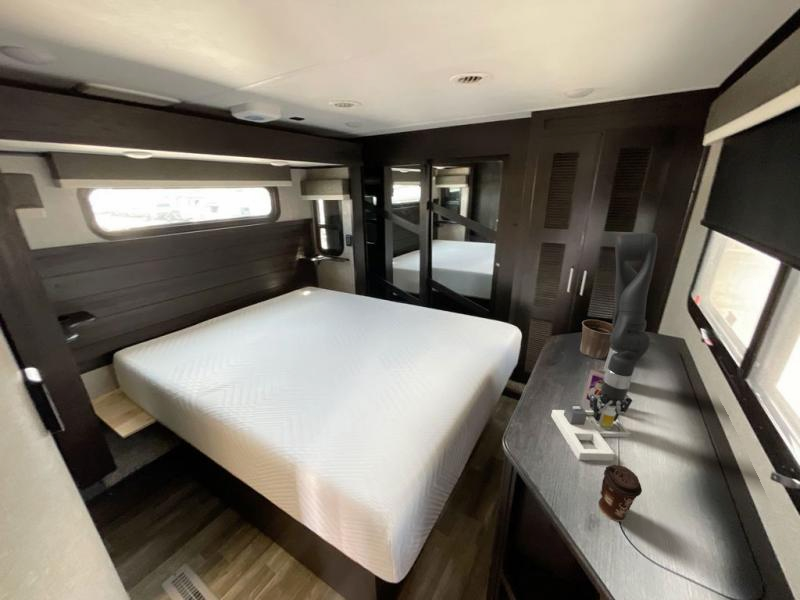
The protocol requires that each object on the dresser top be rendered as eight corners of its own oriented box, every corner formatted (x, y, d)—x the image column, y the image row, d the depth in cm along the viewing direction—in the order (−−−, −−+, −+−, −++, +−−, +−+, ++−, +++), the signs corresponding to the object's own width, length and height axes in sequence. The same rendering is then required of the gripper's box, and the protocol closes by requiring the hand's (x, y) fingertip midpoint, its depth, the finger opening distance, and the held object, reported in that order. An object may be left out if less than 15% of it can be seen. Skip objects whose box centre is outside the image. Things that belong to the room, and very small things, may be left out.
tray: (608, 413, 119) (609, 410, 118) (628, 437, 108) (630, 433, 107) (578, 413, 119) (579, 410, 118) (596, 436, 108) (597, 433, 108)
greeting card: (581, 401, 126) (590, 370, 120) (586, 392, 131) (594, 363, 125) (614, 414, 118) (624, 382, 113) (617, 405, 124) (628, 374, 118)
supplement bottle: (591, 422, 115) (597, 401, 111) (600, 417, 117) (606, 397, 113) (605, 431, 110) (612, 410, 107) (614, 427, 112) (621, 406, 109)
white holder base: (579, 416, 117) (584, 398, 114) (612, 460, 99) (619, 440, 96) (551, 416, 117) (555, 398, 114) (578, 459, 99) (584, 439, 96)
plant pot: (618, 361, 154) (626, 333, 148) (586, 361, 154) (593, 333, 148) (598, 345, 169) (606, 319, 163) (569, 345, 169) (576, 319, 163)
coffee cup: (586, 495, 88) (597, 462, 83) (613, 493, 88) (625, 460, 84) (608, 526, 80) (621, 492, 75) (637, 524, 80) (652, 489, 76)
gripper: (629, 375, 110) (617, 412, 116) (589, 374, 110) (579, 412, 116) (644, 388, 103) (630, 427, 109) (602, 387, 103) (590, 426, 109)
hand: (604, 419), depth 113 cm, fingers closed on supplement bottle, 5 cm apart
